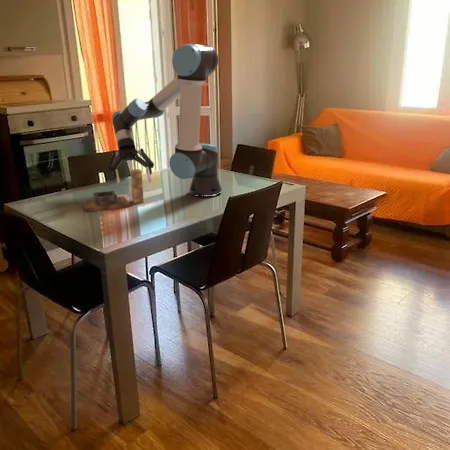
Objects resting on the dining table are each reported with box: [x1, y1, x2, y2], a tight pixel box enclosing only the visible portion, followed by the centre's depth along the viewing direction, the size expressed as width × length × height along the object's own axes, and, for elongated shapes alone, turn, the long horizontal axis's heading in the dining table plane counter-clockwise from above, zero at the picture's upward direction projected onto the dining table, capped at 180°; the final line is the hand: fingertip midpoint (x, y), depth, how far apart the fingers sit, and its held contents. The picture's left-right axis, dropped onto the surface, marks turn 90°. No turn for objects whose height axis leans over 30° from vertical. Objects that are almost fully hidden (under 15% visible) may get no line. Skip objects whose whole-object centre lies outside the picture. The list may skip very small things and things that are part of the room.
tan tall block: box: [129, 168, 145, 204], centre depth 198 cm, size 4×4×14 cm
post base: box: [81, 190, 131, 213], centre depth 194 cm, size 18×12×5 cm, turn 113°
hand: (134, 182), depth 198 cm, fingers open, 13 cm apart
